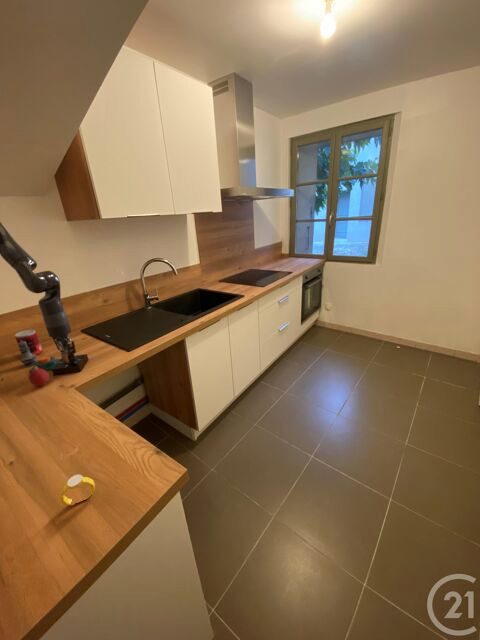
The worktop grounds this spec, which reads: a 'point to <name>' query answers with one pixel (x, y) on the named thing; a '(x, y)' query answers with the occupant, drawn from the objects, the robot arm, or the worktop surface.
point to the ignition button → (44, 359)
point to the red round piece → (38, 376)
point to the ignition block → (46, 364)
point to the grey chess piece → (26, 355)
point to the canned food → (30, 341)
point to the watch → (74, 483)
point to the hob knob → (65, 357)
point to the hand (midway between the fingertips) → (70, 360)
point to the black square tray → (70, 365)
